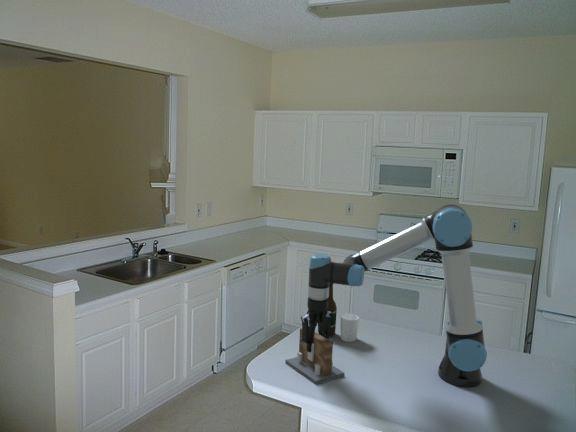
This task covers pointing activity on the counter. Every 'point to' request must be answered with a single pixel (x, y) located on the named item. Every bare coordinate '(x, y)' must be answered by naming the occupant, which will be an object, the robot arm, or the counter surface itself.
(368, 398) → the counter surface
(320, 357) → the brown wooden board
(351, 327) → the white cup
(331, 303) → the beer bottle
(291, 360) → the board
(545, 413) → the counter surface
